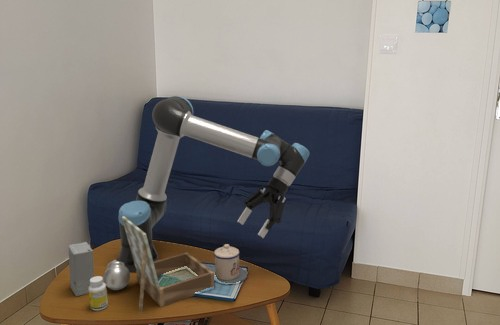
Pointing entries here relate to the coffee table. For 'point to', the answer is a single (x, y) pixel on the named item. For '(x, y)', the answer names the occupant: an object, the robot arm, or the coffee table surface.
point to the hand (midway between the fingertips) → (249, 229)
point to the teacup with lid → (226, 262)
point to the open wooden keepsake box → (164, 270)
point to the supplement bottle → (98, 293)
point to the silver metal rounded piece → (116, 275)
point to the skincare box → (80, 267)
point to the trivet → (241, 277)
